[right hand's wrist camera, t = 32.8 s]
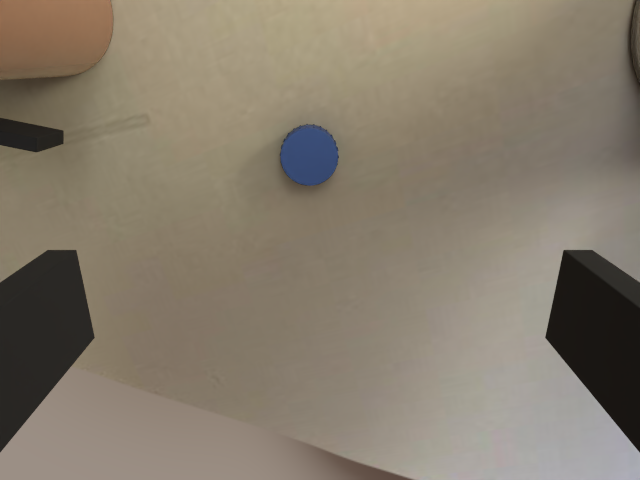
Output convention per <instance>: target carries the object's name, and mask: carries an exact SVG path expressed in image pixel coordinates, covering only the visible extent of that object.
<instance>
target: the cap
mask: <svg viewBox="0 0 640 480" xmlns="http://www.w3.org/2000/svg"><path fill="white" fill-rule="evenodd" d="M283 142H284V143H283V145H282V146H281V153H280V156H281V164H282V167H283V169H284V171H285V173H286V174H287V175H288V176H289V178H291V179H292V180H293V181H295V182H297V183H299V184H302V185H309V186H310V185H317V184H320V183H322V182H324V181H326V180H327V179H328V178H329V177H330V176H331V175H332V174H333V172H334V171H335V169H336V166H337V162H338V158H339V156H338V148H337V147H336V142H335V140H334V139H333V138H332V135H330V134H329V133H328V132H327V130H325V129H323V128H321V126H320V127H319V126H315V125H314V124H313V125H308V124H306V125H304V126H301V125H300V126H299V127H298V128H296V129H295V128H294V129H293V131H291V132H290V133H288V136H287V137H286V139H284V141H283Z"/></svg>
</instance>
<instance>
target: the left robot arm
mask: <svg viewBox="0 0 640 480" xmlns="http://www.w3.org/2000/svg"><path fill="white" fill-rule="evenodd" d="M61 144H63V130H58V129H53V128H48V127H43V126H38V125H33V124H28V123H23V122H18V121H13V120H8V119H3V118H0V145H3V146H8V147H13V148H18V149H23V150H28V151H33V152H39V151H42V150H45V149H49V148H52V147H55V146H58V145H61Z"/></svg>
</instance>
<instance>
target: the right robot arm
mask: <svg viewBox="0 0 640 480" xmlns="http://www.w3.org/2000/svg"><path fill="white" fill-rule="evenodd" d="M631 53H632V60H633V65H634V69H635V73H636V76H637V78H638V81H639V83H640V0H637V1H636V4H635V9H634V13H633V19H632V27H631ZM94 338H95V337H94V333H93V328H92V323H91V318H90V314H89V309H88V304H87V299H86V294H85V290H84V285H83V280H82V275H81V271H80V266H79V261H78V256H77V252H76V250H47V251H46V252H44V253H43V254H41V255H40V256H38V257H37V258H36V259H34V260H33V261H31V262H30V263H28V264H27V265H25V266H24V267H22V268H21V269H19V270H18V271H17V272H15V273H14V274H12V275H11V276H9V277H8V278H6V279H5V280H3V281H2V282H0V452H1V451H2V450H3V448H4V447H5V446H6V445H7V443H8V442H9V441H10V440H11V439H12V437H13V436H14V435H15V434H16V433H17V431H18V430H19V429H20V428H21V426H22V425H23V424H24V423H25V422H26V420H27V419H28V418H29V417H30V416H31V414H32V413H33V412H34V411H35V409H36V408H37V407H38V406H39V404H40V403H41V402H42V401H43V400H44V399H45V397H46V396H47V395H48V394H49V392H50V391H51V390H52V389H53V388H54V386H55V385H56V384H57V383H58V381H59V380H60V379H61V378H62V377H63V375H64V374H65V373H66V372H67V371H68V369H69V368H70V367H71V366H72V365H73V363H74V362H75V361H76V360H77V358H78V357H79V356H80V355H81V354H82V352H83V351H84V350H85V349H86V347H87V346H88V345H89V344H90V343H91V341H92V340H93V339H94ZM545 338H546V339H547V340H548V341H549V343H550V344H551V345H552V346H553V347H554V349H555V350H556V351H557V352H558V354H559V355H560V356H561V357H562V358H563V360H564V361H565V362H566V363H567V365H568V366H569V367H570V368H571V369H572V371H573V372H574V373H575V374H576V375H577V377H578V378H579V379H580V380H581V382H582V383H583V384H584V385H585V386H586V388H587V389H588V390H589V391H590V392H591V394H592V395H593V396H594V397H595V399H596V400H597V401H598V402H599V403H600V405H601V406H602V407H603V408H604V409H605V411H606V412H607V413H608V414H609V416H610V417H611V418H612V419H613V420H614V422H615V423H616V424H617V425H618V426H619V428H620V429H621V430H622V431H623V433H624V434H625V435H626V436H627V437H628V439H629V440H630V441H631V442H632V443H633V445H634V446H635V447H636V448H637V450H638V451H639V452H640V282H638V281H637V280H635V279H634V278H632V277H631V276H629V275H628V274H626V273H625V272H623V271H622V270H621V269H619V268H618V267H616V266H615V265H613V264H612V263H610V262H609V261H607V260H606V259H604V258H603V257H602V256H600V255H599V254H597V253H596V252H594V251H593V250H564V252H563V256H562V261H561V266H560V271H559V275H558V280H557V285H556V290H555V294H554V299H553V304H552V309H551V314H550V318H549V323H548V328H547V333H546V337H545Z"/></svg>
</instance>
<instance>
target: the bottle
mask: <svg viewBox="0 0 640 480" xmlns="http://www.w3.org/2000/svg"><path fill="white" fill-rule="evenodd" d="M112 29H113V14H112V7H111V2H110V0H0V80H8V79H26V78H44V77H62V76H72V75H76V74H80V73H82V72H84V71H86V70H88V69H90V68H91V67H93V66H94V65H95V64H96V63H97V62H98V61H99V60H100V59H101V58H102V56H103V55H104V53H105V51H106V50H107V48H108V45H109V43H110V39H111V36H112Z"/></svg>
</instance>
